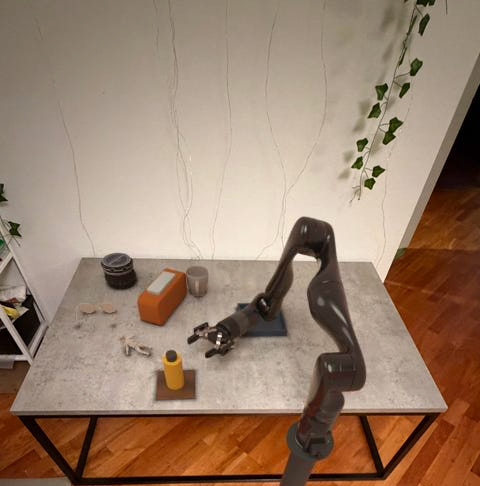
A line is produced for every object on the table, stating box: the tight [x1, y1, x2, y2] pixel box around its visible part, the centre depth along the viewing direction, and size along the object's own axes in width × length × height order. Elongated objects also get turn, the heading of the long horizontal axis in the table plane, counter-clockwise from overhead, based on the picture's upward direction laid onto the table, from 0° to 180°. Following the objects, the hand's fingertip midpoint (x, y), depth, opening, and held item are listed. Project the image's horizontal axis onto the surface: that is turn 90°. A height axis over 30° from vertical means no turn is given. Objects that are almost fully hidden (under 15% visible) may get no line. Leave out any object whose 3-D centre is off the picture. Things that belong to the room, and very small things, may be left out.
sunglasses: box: [75, 302, 116, 327], centre depth 125 cm, size 14×8×5 cm, turn 95°
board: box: [155, 369, 196, 401], centre depth 109 cm, size 12×12×1 cm
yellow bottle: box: [161, 349, 184, 390], centre depth 103 cm, size 6×6×13 cm
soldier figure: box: [118, 333, 153, 357], centre depth 117 cm, size 8×5×12 cm
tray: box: [236, 302, 288, 338], centre depth 130 cm, size 17×17×2 cm
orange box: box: [136, 267, 188, 326], centre depth 129 cm, size 24×8×11 cm, turn 161°
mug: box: [185, 265, 209, 297], centre depth 136 cm, size 12×9×10 cm
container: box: [100, 252, 137, 290], centre depth 139 cm, size 13×13×10 cm
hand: (196, 349), depth 106 cm, fingers open, 8 cm apart
